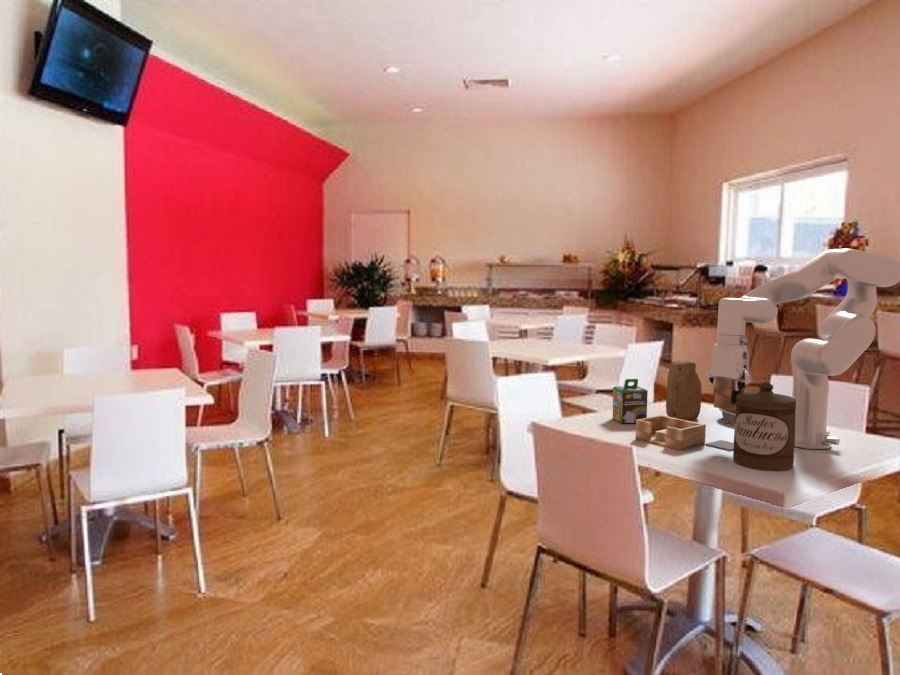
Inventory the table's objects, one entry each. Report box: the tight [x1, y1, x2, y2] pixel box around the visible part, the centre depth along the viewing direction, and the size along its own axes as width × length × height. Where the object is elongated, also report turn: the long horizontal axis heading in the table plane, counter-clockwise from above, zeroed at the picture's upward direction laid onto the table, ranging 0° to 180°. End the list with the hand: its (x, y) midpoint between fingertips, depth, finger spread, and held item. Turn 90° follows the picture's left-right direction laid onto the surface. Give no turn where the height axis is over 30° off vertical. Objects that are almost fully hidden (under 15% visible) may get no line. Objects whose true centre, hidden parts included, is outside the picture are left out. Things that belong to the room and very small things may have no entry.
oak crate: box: [634, 414, 707, 451], centre depth 206 cm, size 16×12×6 cm
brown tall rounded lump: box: [665, 360, 702, 421], centre depth 238 cm, size 11×8×20 cm
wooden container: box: [732, 382, 796, 472], centre depth 183 cm, size 15×15×22 cm
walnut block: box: [713, 377, 736, 410], centre depth 200 cm, size 5×5×9 cm
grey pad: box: [705, 439, 734, 452], centre depth 202 cm, size 8×8×1 cm
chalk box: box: [612, 378, 649, 424], centre depth 233 cm, size 9×9×15 cm
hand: (726, 401), depth 200 cm, fingers closed on walnut block, 5 cm apart
